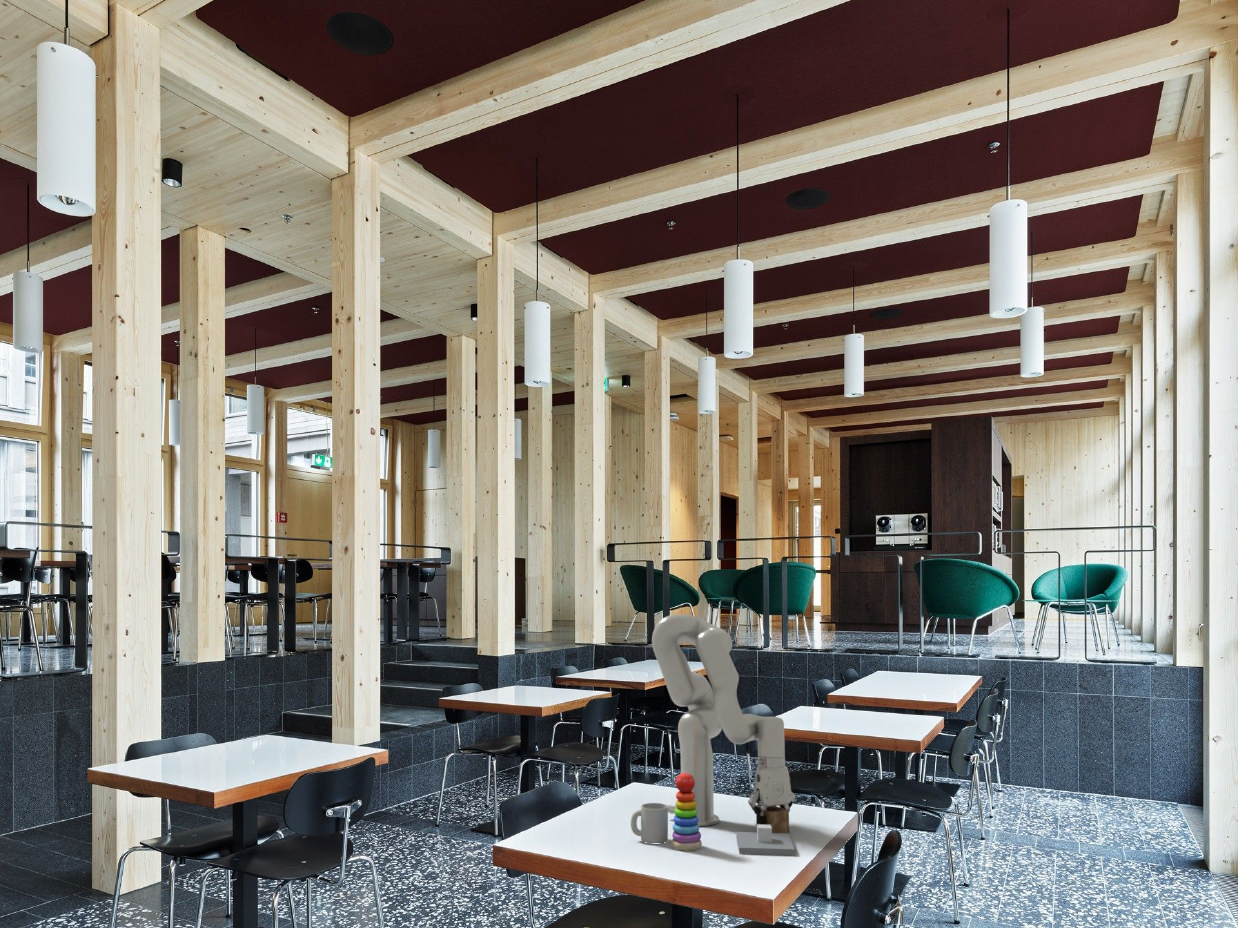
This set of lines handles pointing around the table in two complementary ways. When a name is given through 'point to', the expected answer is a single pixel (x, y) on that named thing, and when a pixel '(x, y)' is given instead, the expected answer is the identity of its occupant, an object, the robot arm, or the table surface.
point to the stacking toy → (686, 816)
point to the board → (764, 842)
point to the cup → (651, 823)
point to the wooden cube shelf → (777, 819)
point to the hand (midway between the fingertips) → (772, 827)
